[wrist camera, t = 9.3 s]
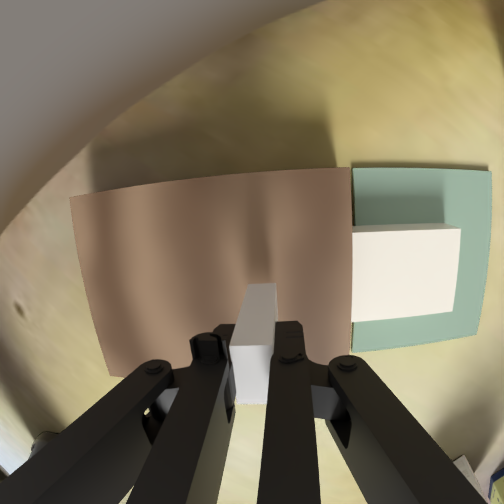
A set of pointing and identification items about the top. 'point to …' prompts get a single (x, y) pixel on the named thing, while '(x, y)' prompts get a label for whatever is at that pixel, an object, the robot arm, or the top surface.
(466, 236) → the mat
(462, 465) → the supplement box
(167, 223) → the plate
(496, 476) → the protein box
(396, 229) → the tile
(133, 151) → the top surface
